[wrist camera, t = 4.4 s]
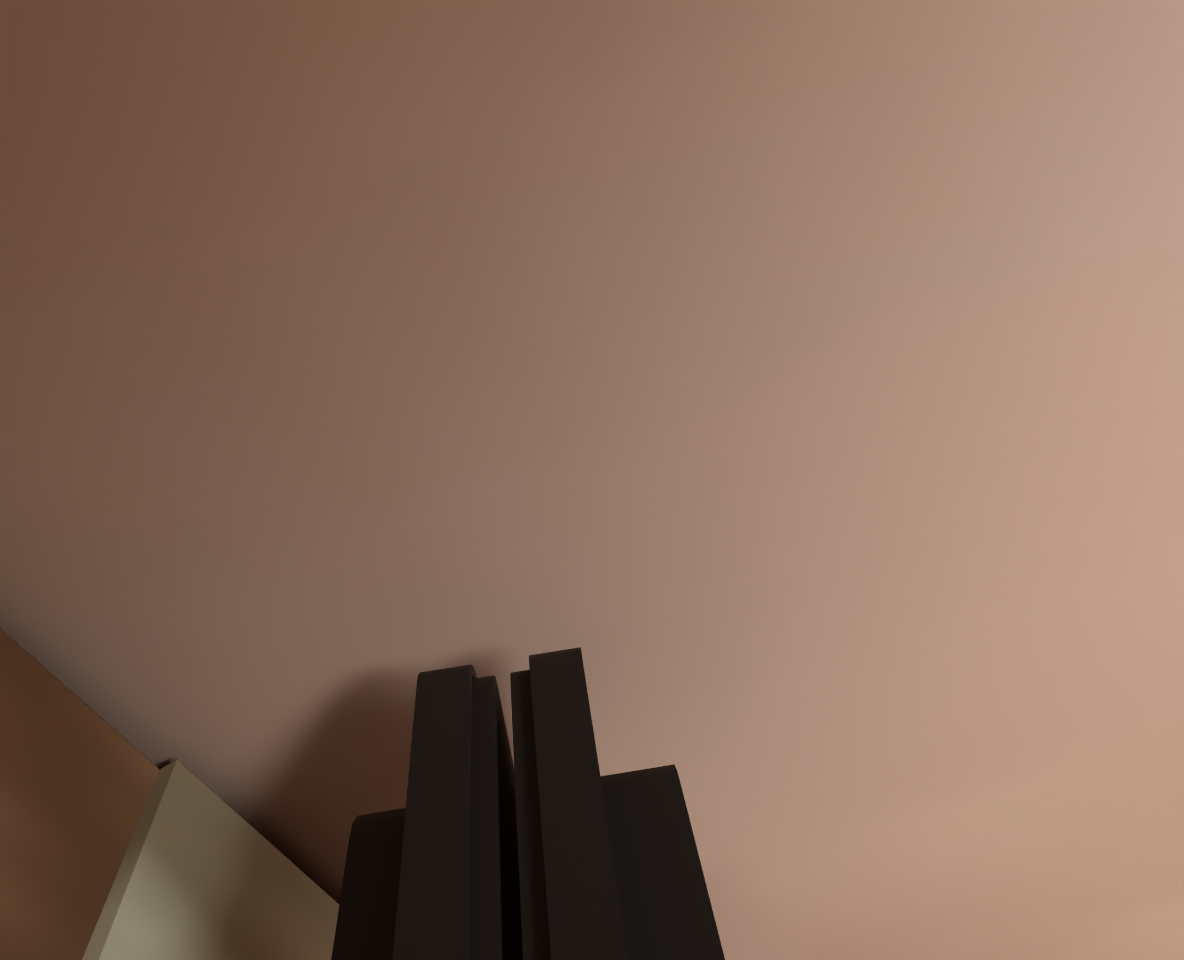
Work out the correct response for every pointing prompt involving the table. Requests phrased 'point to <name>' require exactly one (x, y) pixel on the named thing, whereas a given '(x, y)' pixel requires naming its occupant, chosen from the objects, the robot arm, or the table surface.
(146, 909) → the tongs arm
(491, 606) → the table surface
